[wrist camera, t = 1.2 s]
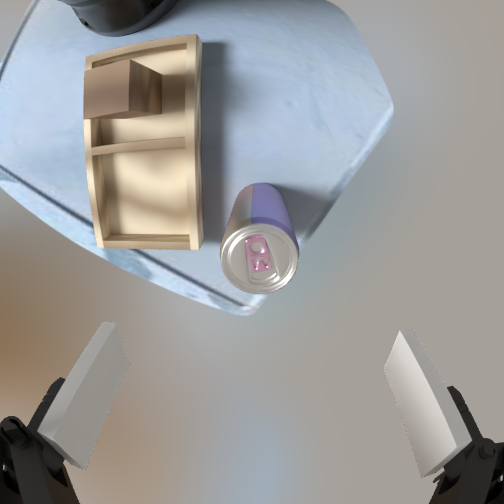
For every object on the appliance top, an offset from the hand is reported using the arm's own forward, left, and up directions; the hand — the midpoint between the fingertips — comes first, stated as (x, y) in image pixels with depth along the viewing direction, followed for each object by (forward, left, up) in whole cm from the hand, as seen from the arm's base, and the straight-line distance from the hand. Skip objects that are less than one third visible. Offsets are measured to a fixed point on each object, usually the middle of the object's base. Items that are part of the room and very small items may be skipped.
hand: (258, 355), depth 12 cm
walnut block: (-14, -14, -23) cm, 31 cm away
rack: (-8, -14, -24) cm, 29 cm away
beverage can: (0, 0, -24) cm, 24 cm away
